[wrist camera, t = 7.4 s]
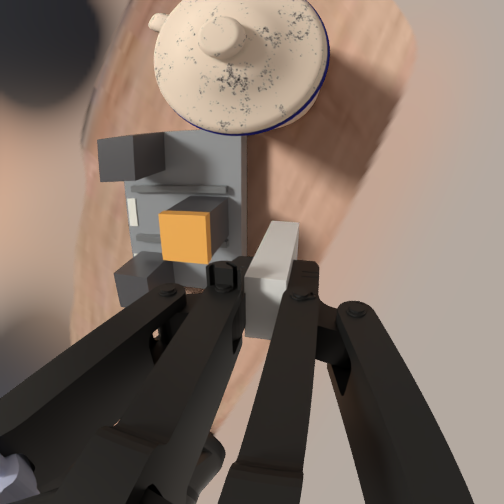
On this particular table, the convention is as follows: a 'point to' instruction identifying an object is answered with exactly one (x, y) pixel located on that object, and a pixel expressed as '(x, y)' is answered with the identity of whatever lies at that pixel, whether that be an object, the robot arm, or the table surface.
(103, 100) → the table surface
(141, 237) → the panel
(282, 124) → the teacup with lid
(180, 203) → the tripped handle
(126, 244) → the table surface
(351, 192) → the table surface
